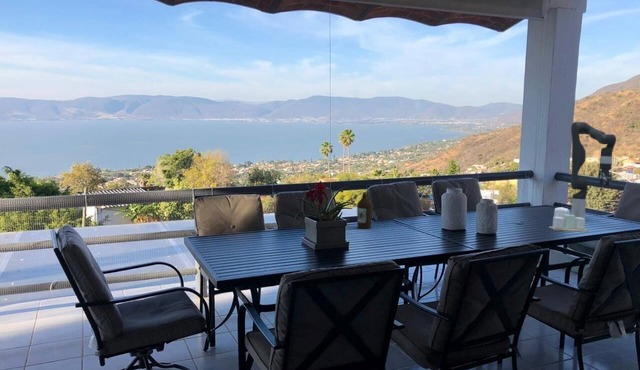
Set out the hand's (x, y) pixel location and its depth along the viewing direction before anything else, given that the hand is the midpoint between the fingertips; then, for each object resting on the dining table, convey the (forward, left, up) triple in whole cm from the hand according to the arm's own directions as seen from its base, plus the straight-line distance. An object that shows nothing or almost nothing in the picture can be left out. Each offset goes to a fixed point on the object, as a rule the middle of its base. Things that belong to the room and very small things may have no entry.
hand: (604, 185), depth 350 cm
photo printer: (-9, -24, -30) cm, 40 cm away
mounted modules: (+11, -27, -29) cm, 41 cm away
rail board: (+11, -27, -30) cm, 42 cm away
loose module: (+11, -27, -29) cm, 41 cm away
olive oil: (+20, -169, -30) cm, 173 cm away
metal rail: (+11, -27, -30) cm, 42 cm away
